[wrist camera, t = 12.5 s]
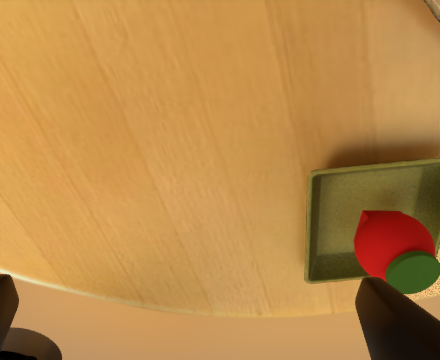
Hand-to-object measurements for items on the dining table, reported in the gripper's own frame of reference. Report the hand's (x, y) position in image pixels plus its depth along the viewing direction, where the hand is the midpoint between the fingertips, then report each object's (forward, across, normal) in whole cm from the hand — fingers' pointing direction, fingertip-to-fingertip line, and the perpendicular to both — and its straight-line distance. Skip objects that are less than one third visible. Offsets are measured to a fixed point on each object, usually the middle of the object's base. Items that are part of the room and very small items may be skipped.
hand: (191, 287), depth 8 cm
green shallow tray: (+12, -11, +5) cm, 17 cm away
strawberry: (+10, -11, +5) cm, 16 cm away
